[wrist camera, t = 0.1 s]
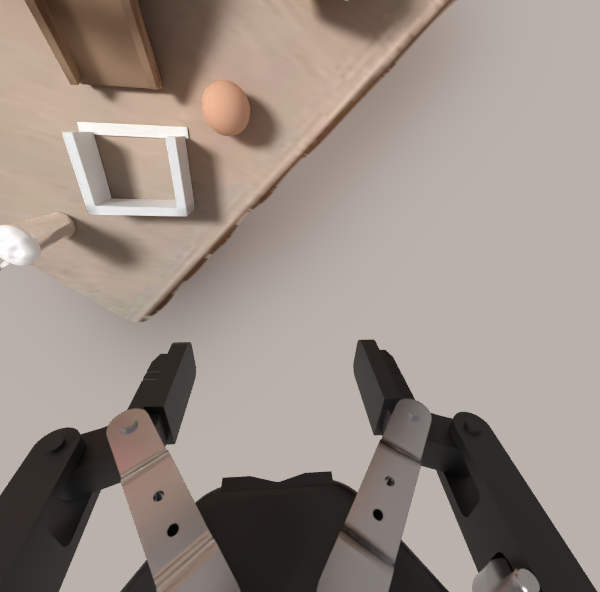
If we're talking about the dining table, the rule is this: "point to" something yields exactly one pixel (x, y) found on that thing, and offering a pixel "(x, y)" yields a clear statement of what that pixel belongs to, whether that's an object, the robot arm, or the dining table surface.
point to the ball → (226, 108)
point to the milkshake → (33, 238)
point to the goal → (102, 203)
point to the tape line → (132, 130)
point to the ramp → (98, 41)
